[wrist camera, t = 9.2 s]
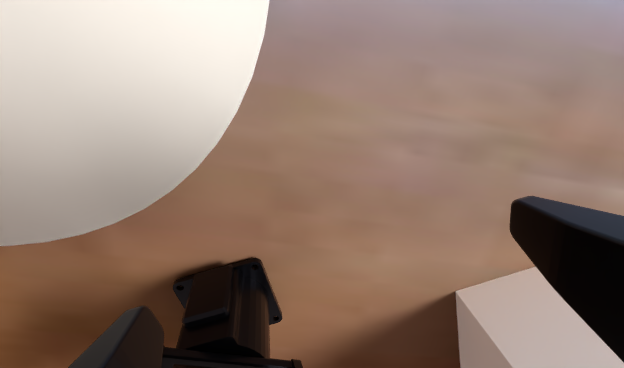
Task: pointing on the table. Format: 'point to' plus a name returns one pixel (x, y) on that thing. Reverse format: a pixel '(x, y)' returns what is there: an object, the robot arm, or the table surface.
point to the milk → (525, 327)
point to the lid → (113, 104)
